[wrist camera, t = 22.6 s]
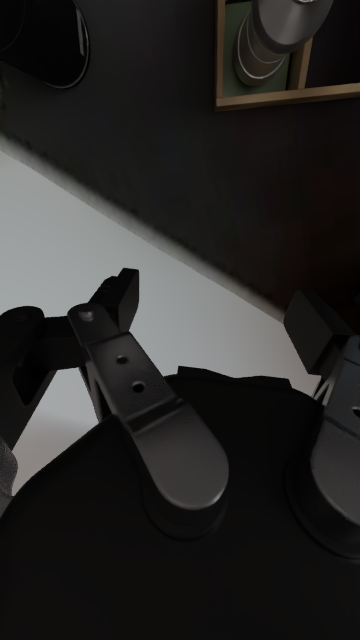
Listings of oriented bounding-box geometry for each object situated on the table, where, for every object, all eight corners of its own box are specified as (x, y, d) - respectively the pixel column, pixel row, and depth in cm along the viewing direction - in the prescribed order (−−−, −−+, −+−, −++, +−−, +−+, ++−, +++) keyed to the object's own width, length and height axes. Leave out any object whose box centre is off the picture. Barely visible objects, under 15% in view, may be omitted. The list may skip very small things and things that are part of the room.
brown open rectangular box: (214, 112, 33) (216, 106, 30) (215, -8, 27) (218, -34, 24) (366, 96, 32) (388, 88, 28) (403, -37, 25) (438, -69, 22)
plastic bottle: (290, 15, 28) (420, -182, 12) (273, 93, 32) (352, 28, 15) (236, 10, 28) (291, -192, 12) (225, 89, 32) (255, 20, 16)
